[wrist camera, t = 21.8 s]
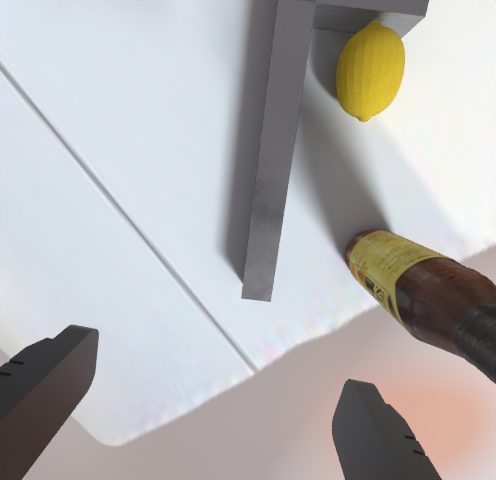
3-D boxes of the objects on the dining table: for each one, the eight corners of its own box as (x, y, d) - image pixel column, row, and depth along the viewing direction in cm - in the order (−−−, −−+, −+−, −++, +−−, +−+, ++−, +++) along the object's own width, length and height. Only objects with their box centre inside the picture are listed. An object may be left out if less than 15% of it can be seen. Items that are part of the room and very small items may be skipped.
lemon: (369, 40, 27) (360, 128, 29) (326, 26, 25) (319, 123, 27) (426, 13, 23) (411, 120, 25) (380, -8, 20) (367, 113, 22)
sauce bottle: (332, 263, 32) (453, 403, 12) (366, 216, 30) (561, 292, 11) (378, 292, 32) (562, 468, 13) (414, 247, 31) (675, 370, 12)
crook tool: (242, 283, 33) (241, 298, 29) (279, -15, 26) (284, -48, 22) (344, 295, 33) (356, 312, 29) (408, 2, 26) (435, -28, 22)
